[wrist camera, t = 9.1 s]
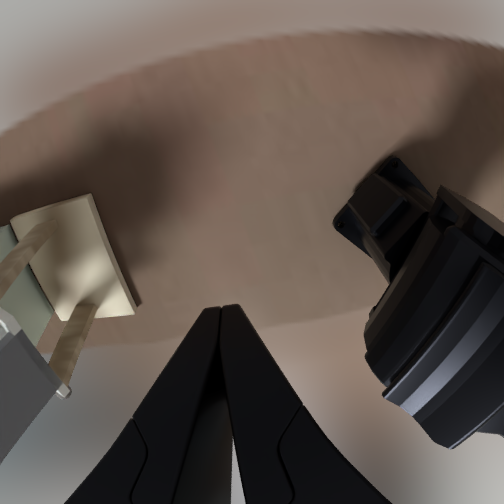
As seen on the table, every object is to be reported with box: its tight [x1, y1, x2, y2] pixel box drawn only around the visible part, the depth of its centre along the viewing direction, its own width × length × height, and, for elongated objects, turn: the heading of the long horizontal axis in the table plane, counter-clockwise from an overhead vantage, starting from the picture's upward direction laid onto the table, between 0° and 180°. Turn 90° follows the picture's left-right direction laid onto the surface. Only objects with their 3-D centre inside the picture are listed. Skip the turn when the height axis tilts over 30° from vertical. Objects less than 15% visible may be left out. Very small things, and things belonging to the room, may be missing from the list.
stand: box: [0, 193, 137, 400], centre depth 18 cm, size 8×10×9 cm
